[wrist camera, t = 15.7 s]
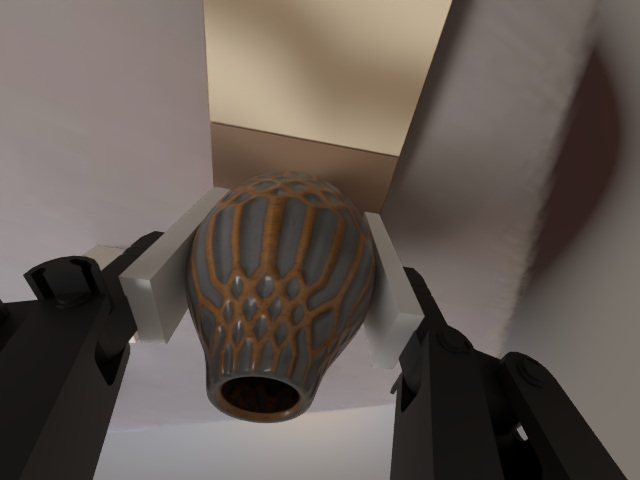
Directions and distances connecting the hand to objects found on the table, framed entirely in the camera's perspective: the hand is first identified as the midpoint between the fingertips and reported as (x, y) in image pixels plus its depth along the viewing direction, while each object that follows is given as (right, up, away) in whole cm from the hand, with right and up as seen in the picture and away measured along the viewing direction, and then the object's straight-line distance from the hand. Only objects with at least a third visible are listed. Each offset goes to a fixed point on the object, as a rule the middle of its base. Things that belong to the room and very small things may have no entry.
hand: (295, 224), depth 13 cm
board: (0, +2, +3) cm, 4 cm away
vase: (0, 0, 0) cm, 1 cm away
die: (-13, -3, +7) cm, 15 cm away
